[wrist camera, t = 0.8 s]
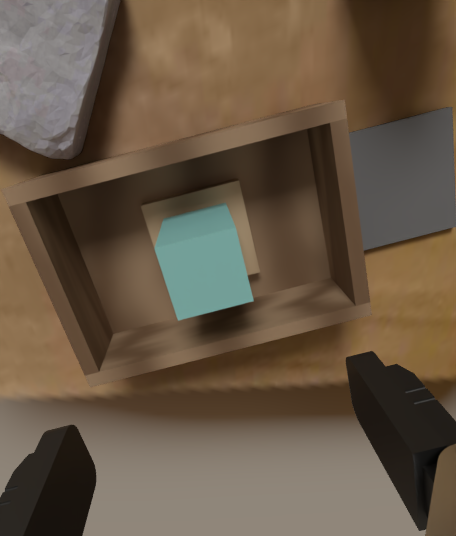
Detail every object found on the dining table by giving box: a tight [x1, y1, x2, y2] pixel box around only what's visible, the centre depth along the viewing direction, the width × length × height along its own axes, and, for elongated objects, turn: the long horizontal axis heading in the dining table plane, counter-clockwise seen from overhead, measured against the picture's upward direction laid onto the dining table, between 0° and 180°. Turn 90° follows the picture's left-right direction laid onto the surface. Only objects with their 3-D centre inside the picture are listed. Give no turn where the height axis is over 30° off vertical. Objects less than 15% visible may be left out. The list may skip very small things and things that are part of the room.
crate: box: [1, 100, 372, 387], centre depth 28 cm, size 20×14×6 cm
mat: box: [349, 107, 456, 250], centre depth 30 cm, size 9×9×1 cm
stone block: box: [0, 0, 120, 159], centre depth 24 cm, size 12×5×10 cm
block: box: [154, 203, 254, 321], centre depth 25 cm, size 4×4×7 cm
